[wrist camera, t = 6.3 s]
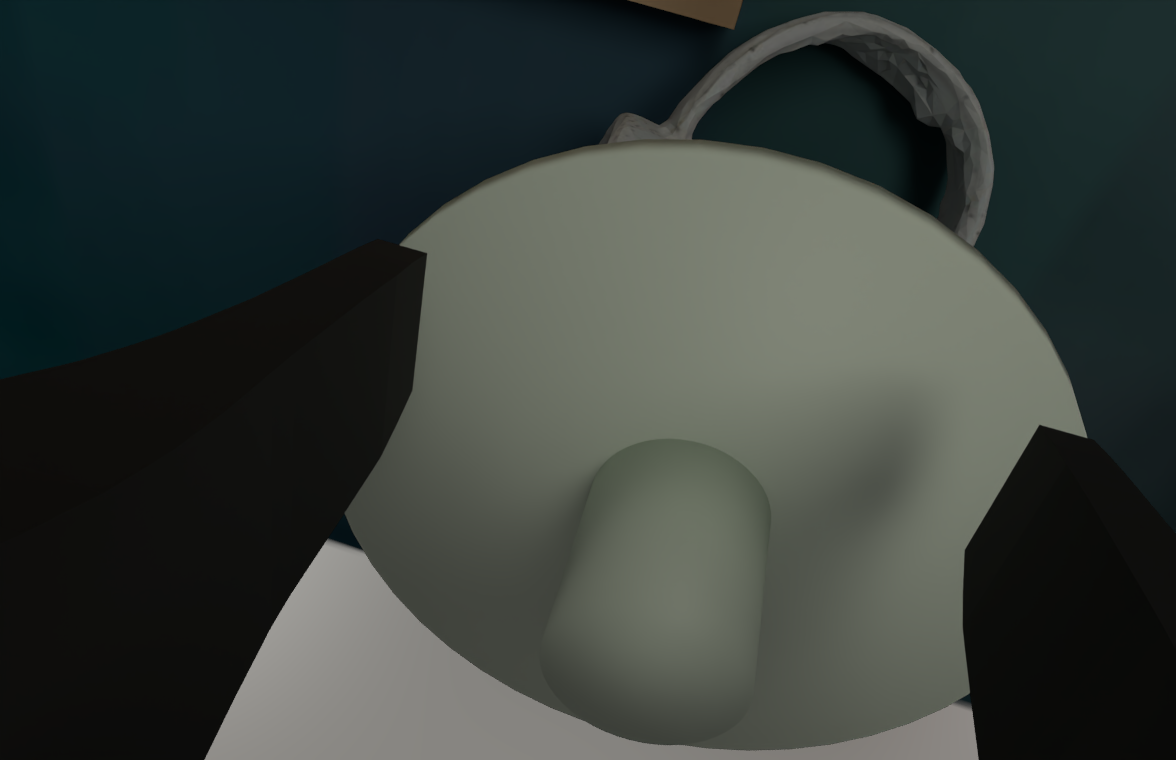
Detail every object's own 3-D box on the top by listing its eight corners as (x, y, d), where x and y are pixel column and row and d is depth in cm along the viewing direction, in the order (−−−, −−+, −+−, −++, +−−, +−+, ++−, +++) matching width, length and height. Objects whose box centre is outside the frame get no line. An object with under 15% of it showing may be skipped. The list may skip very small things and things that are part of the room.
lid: (1247, 242, 12) (1373, 431, 9) (935, 790, 19) (950, 998, 16) (324, 61, 13) (170, 174, 10) (345, 638, 20) (257, 806, 17)
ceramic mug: (794, 482, 25) (780, 742, 19) (498, 332, 25) (383, 551, 18) (1094, 118, 19) (1217, 326, 13) (711, -96, 18) (647, 13, 12)
